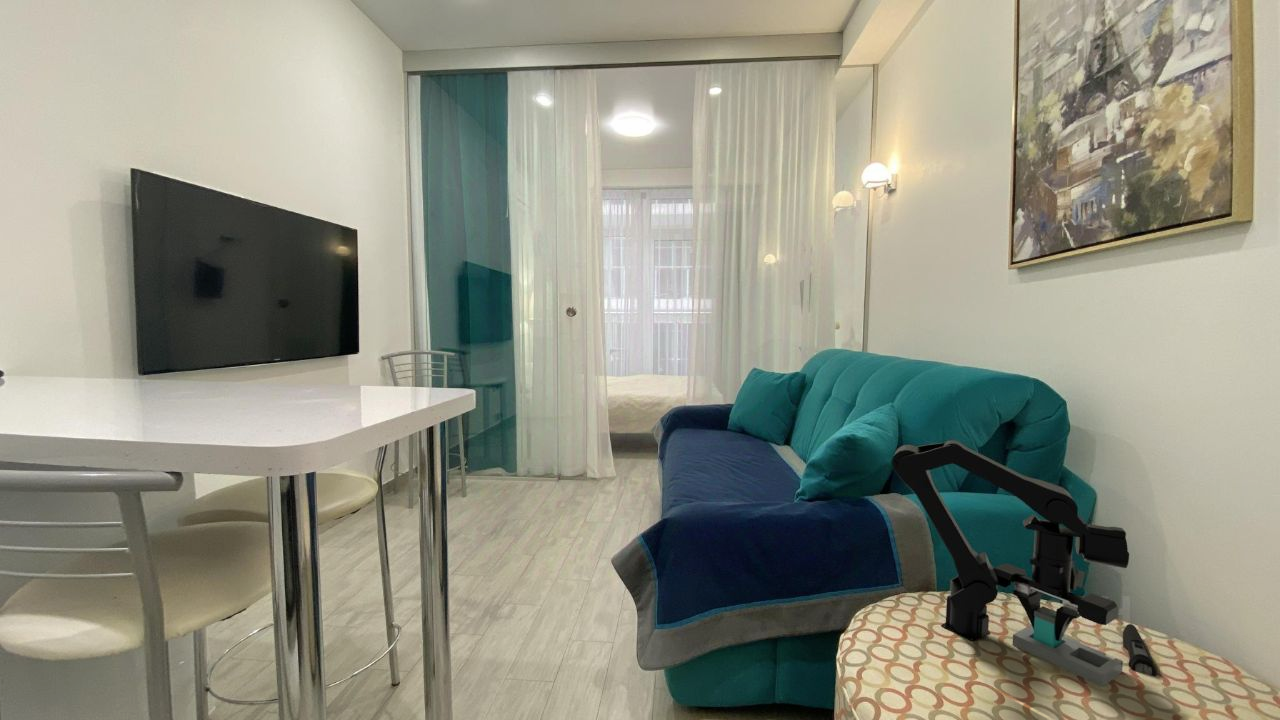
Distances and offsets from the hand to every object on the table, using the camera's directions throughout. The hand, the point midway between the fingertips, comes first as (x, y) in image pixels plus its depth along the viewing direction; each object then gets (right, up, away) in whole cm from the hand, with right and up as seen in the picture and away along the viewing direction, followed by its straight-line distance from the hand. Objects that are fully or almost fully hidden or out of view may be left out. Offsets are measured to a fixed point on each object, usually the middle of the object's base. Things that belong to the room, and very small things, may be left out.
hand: (1047, 635), depth 103 cm
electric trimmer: (+16, -4, -1) cm, 17 cm away
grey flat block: (+2, -3, -2) cm, 4 cm away
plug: (0, -3, 0) cm, 2 cm away
